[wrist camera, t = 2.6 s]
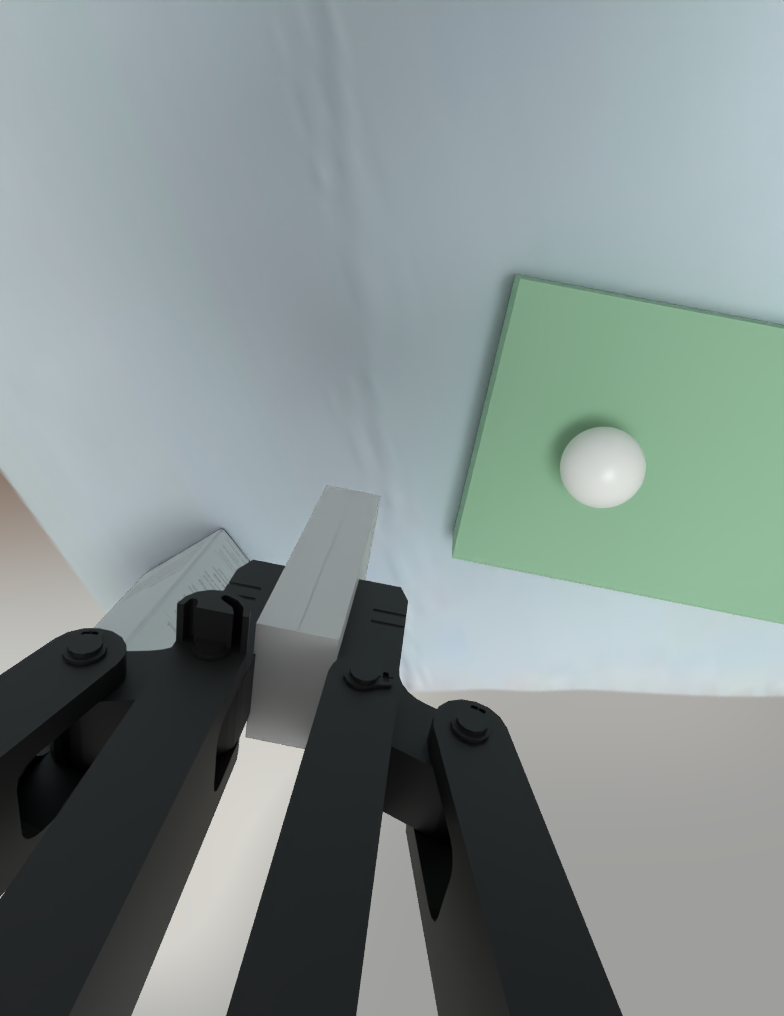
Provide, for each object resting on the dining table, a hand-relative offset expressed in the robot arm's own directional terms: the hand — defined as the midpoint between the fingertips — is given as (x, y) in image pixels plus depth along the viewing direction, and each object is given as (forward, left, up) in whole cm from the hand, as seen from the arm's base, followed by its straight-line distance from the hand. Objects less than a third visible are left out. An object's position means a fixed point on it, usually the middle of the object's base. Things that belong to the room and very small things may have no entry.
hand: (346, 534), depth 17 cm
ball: (0, +9, -10) cm, 13 cm away
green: (0, +17, -14) cm, 22 cm away
